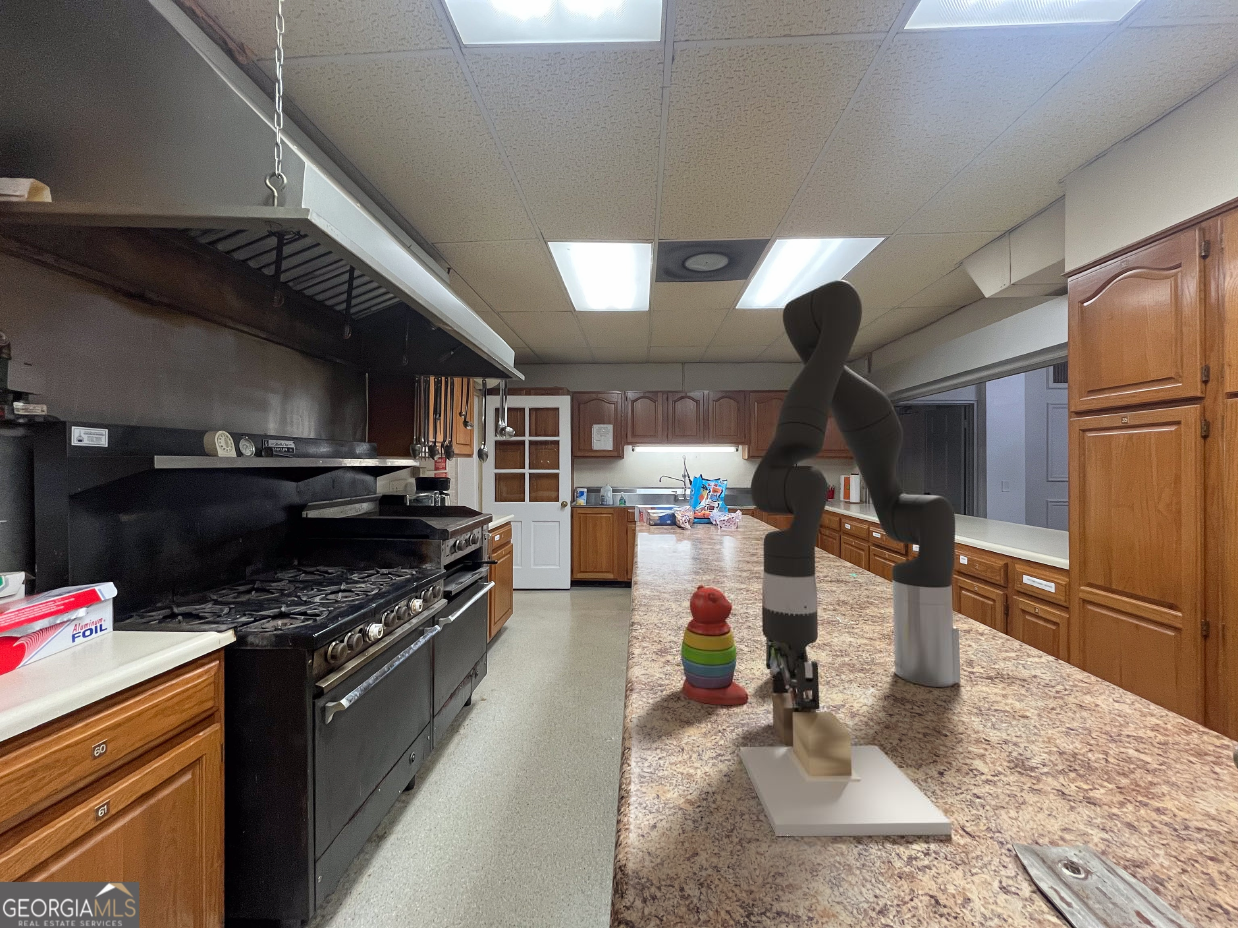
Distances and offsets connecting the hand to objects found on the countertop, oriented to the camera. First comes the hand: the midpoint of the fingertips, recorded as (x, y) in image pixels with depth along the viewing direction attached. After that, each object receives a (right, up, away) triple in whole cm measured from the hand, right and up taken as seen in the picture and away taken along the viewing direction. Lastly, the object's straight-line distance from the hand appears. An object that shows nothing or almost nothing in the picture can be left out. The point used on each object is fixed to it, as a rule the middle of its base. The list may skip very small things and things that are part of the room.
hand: (790, 718), depth 67 cm
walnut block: (+1, -2, 0) cm, 2 cm away
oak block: (+1, -1, -9) cm, 9 cm away
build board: (+1, -2, -12) cm, 12 cm away
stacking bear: (-9, -3, +14) cm, 16 cm away
